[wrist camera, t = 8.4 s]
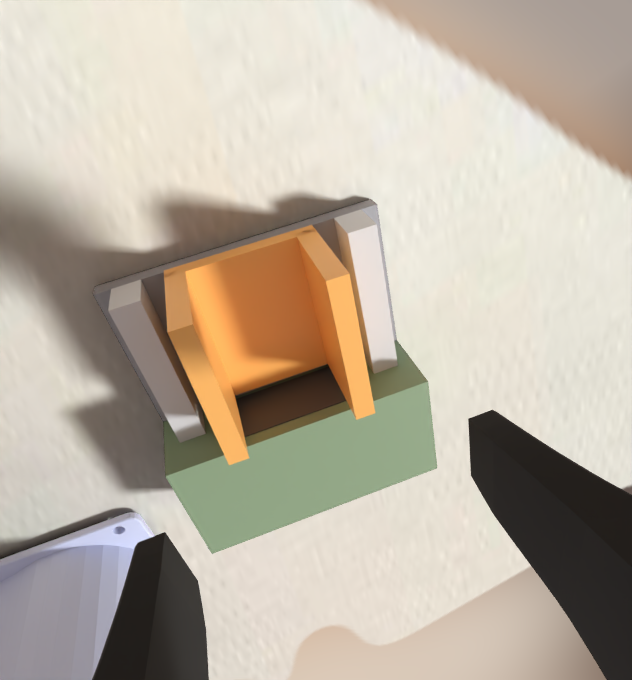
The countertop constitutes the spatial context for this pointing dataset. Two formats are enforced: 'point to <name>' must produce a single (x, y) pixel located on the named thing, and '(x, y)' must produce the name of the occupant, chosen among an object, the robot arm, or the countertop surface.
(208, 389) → the chute
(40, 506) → the countertop surface
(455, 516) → the countertop surface
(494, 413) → the robot arm
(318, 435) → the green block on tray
